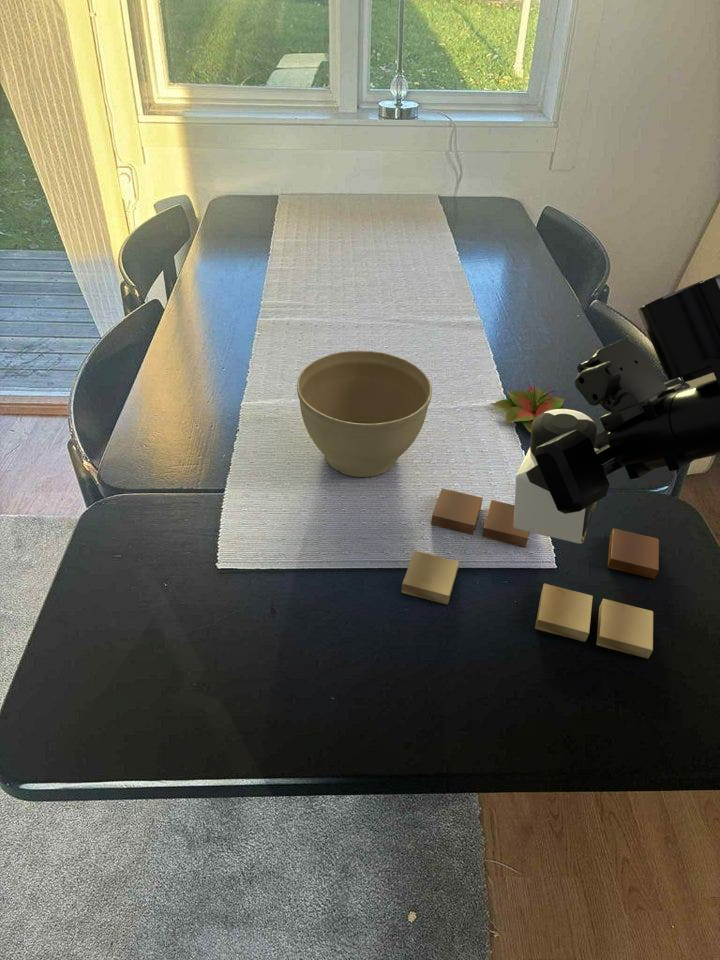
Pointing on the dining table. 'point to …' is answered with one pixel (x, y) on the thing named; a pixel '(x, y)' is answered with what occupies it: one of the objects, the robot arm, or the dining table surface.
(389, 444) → the planter bowl
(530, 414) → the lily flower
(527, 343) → the dining table surface
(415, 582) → the set of tan blocks
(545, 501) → the medicine bottle
